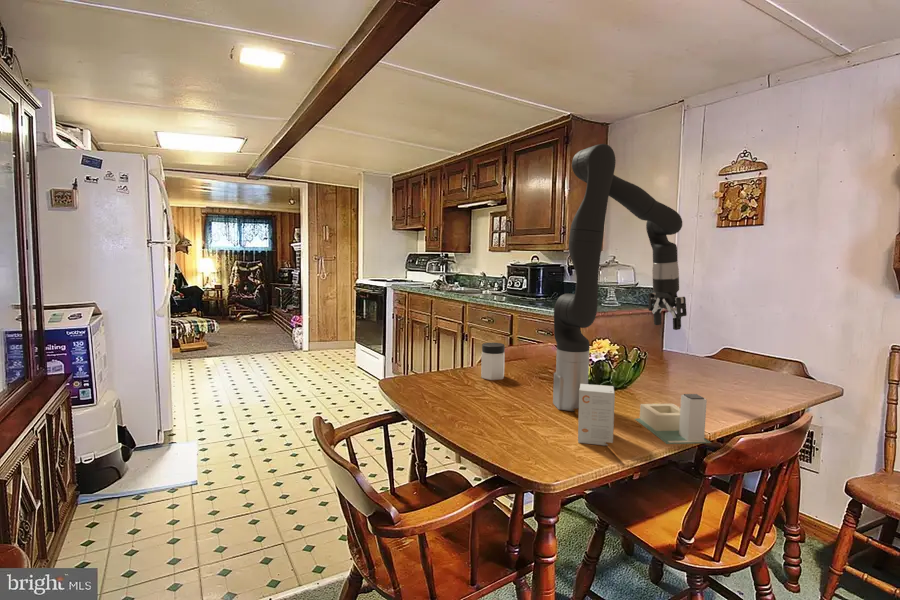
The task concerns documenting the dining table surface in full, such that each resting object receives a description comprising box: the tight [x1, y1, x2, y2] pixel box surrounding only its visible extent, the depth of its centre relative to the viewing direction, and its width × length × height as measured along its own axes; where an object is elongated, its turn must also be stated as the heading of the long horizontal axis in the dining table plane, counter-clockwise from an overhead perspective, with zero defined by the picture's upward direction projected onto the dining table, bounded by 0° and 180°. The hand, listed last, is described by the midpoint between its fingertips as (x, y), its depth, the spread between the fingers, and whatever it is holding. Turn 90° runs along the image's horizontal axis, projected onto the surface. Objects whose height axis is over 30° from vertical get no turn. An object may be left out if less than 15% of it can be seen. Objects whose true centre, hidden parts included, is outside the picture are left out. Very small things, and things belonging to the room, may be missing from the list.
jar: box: [480, 342, 506, 381], centre depth 174 cm, size 9×8×12 cm
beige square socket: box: [639, 402, 680, 431], centre depth 125 cm, size 9×10×4 cm
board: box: [634, 417, 712, 445], centre depth 121 cm, size 11×17×1 cm, turn 4°
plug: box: [679, 393, 708, 441], centre depth 116 cm, size 4×5×10 cm
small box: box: [577, 383, 616, 447], centre depth 116 cm, size 8×6×13 cm
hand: (667, 327), depth 153 cm, fingers open, 8 cm apart
